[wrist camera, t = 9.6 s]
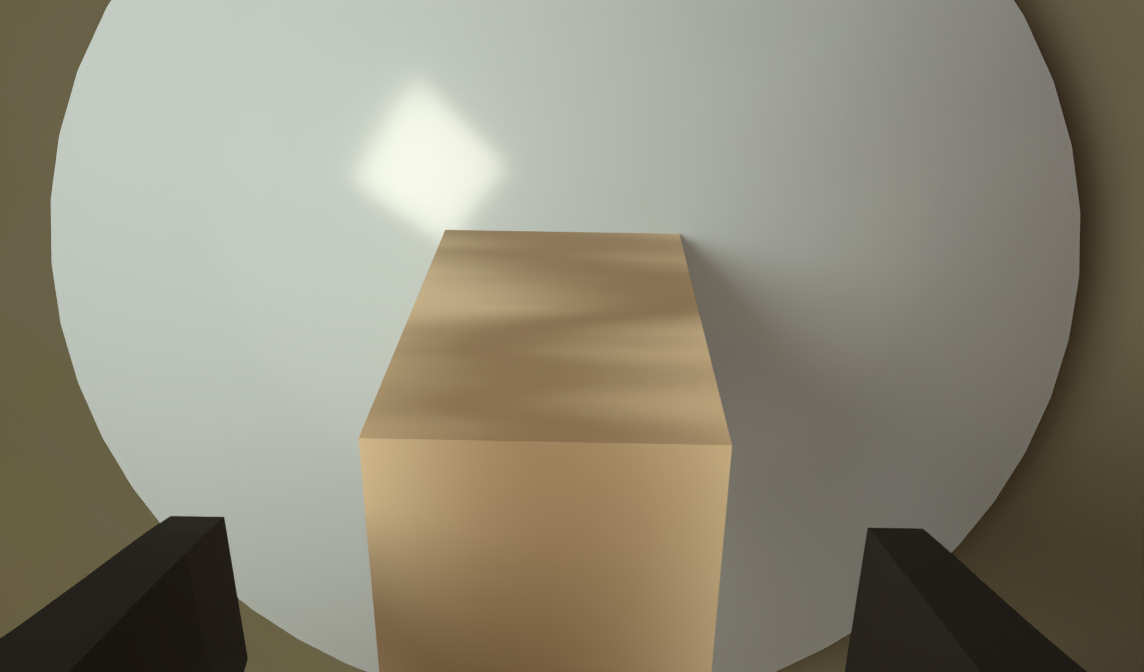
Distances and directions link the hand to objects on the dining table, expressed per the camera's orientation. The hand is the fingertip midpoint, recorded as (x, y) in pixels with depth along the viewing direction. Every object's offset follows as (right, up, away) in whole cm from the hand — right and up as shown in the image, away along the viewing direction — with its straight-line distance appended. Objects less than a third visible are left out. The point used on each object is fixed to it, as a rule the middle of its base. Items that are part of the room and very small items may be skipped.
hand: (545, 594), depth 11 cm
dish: (0, +4, +8) cm, 8 cm away
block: (0, +3, +7) cm, 7 cm away
